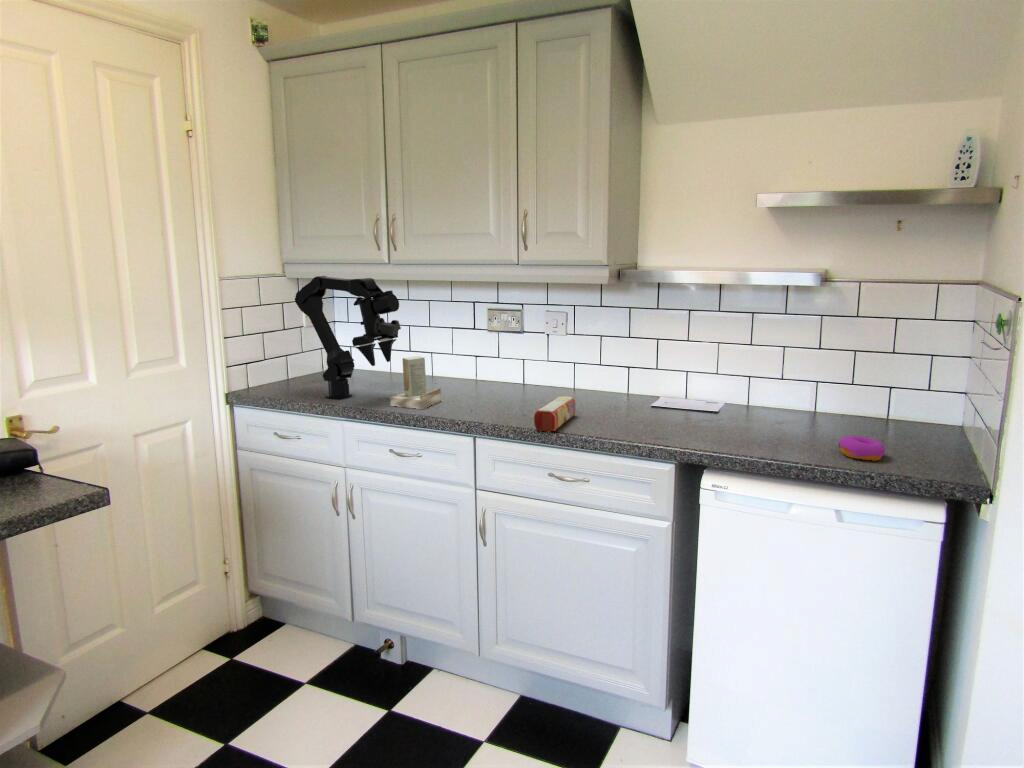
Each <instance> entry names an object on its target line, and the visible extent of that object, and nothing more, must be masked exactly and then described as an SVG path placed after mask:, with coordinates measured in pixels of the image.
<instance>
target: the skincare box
mask: <svg viewBox="0 0 1024 768" xmlns="http://www.w3.org/2000/svg"><path fill="white" fill-rule="evenodd" d="M425 358H426V357H424V356H420V355H417V356H409V357H403V358H402V373H403V392H404V394H405V395H408V396H416V395H422V394H425V393H427V392H428V391H427V378H426V377H427V376H426V359H425ZM426 391H427V392H426Z"/></svg>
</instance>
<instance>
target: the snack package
mask: <svg viewBox="0 0 1024 768" xmlns="http://www.w3.org/2000/svg"><path fill="white" fill-rule="evenodd" d="M576 408H577V407H576V400H575V398H573V397H571V396H558V397H556V398H555V399H554V400H552V401H551V402H549V403H548V404H546V405H544V406H543V407H541V408H539V409H537V410H536V411H535V413H534V414H533V424H534V428H535V429H536V431H538V430H539V431H538V432H541V431H547V432H546V433H552V432H551V431H554V432H555V431H556V430H557V429H559V428H560V427H561V426H562V425H564V424H565V423H566V422H567V421H568V420H570V419H571V418H573V417H574V416H575V415H576V410H577V409H576Z"/></svg>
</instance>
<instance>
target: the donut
mask: <svg viewBox="0 0 1024 768" xmlns="http://www.w3.org/2000/svg"><path fill="white" fill-rule="evenodd" d="M838 448H839V450H841V452H842V453H843V455H844V456H846V457H848V458H850V459H854V458H855V459H854V460H860V459H862V460H863V461H869V460H872V461H871V462H877V460H878V461H879V460H881V459H882V457H883V456H885V453H886V450H885V449H886V448H885V446H884V444H883V443H881V442H880V441H878V440H876V439H872V438H870V437H867V436H861V435H860V436H859V435H849V436H844V437H841V438H840V439H839V440H838Z"/></svg>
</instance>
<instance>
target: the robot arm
mask: <svg viewBox="0 0 1024 768" xmlns="http://www.w3.org/2000/svg"><path fill="white" fill-rule="evenodd" d="M327 290H334V291H342V292H347V293H349V294H350V295H352V296H355V297H356V300H355V301H354V302H353V306H358V307H359V309H360V310H359V311H360V315H361V318H362V321H360V322H359V324H360V325H361V326H363V328H364V329H363V330H364V334H362V335H360V336H355V337H352V338H353V339H351V342H352V346H353V347H355V349H357V350H358V351H359V352H360V353H361V354H362V355H363V356H364V358H365V359H366V360H367V361H368V363H369V364H370V366H372V367H375V366H376V359H375V351H374V348H375V347H376V343H375V341H378V342H377V345H378V347H379V348H380V351H381V353H382V355H383V357H384V359H385V361H386V362H387V363H389V362H391V358H392V357H391V356H392V349H393V348H392V347H393V344H394V343H395V342H396V341H397V338H399V335H398V334H399V330H401V328H402V327H401V325H400V322H399V320H397V319H392V320H391V321H390V322H387V321H385V318H384V317H381V315H387V314H389V313H394V312H398V311H399V307H400V301H399V299H398V297H397V296H396V295H395V294H394V293H393V290H386V291H383V290H382V289H381V287H379V285H378V284H377V283H376V281H375V278H372V277H367V278H366V277H364V278H354V279H347V278H341V277H331V276H326V275H321V276H319V275H318V276H314V277H313V278H312V280H310V282H308V283H307V284H305V285H304V286H303V287H301V289H300V290H298V291H297V292H296V294H295V297H294V301H295V304H296V306H297V307H298V309H299V310H300V311H301V312H302V313H303V314H305V315H306V316H307V317H308V319H309V320H310V322H311V324H312V326H313V328H314V330H315V332H316V335H317V336H318V338H319V340H320V341H319V342H321V345H322V347H323V349H324V351H325V352H326V365H327V368H326V370H325V371H324V373H323V374H322V378H323V380H324V382H327V385H328V394H327V395H325V398H328V399H336V400H341V399H345V398H348V397H352V395H353V394H352V393H350V384H349V379H351V378H352V375H353V371H354V370H355V359H354V358H353V356H352V355H351V352H350V351H349V350H344V349H343V348H341V346H340V344H339V342H338V340H337V337H336V336H335V334H334V331H333V330H332V328H331V326H330V324H329V322H328V320H327V317H326V315H325V313H324V312H323V311H324V309H323V308H324V301H323V297H324V296H325V295H326V292H327Z"/></svg>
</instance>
